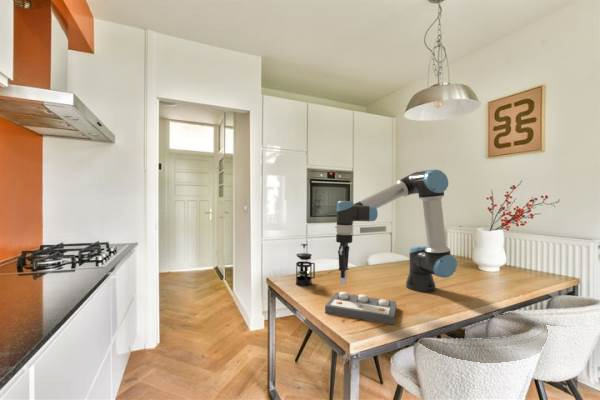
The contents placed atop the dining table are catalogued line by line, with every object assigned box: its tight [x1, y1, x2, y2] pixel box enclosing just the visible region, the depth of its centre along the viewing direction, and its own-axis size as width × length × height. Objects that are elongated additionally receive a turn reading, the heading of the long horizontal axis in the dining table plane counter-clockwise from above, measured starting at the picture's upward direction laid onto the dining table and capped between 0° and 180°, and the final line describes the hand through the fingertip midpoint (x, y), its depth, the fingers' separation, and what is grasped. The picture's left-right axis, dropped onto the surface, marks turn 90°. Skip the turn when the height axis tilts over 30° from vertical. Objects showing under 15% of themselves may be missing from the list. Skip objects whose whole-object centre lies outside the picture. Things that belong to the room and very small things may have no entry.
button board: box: [324, 292, 397, 325], centre depth 120 cm, size 28×18×4 cm, turn 67°
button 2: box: [379, 298, 389, 306], centre depth 120 cm, size 4×4×3 cm
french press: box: [295, 243, 316, 287], centre depth 157 cm, size 12×9×23 cm
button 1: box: [338, 291, 350, 300], centre depth 127 cm, size 4×4×3 cm
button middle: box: [357, 293, 369, 303], centre depth 123 cm, size 4×4×3 cm
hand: (343, 284), depth 127 cm, fingers closed
